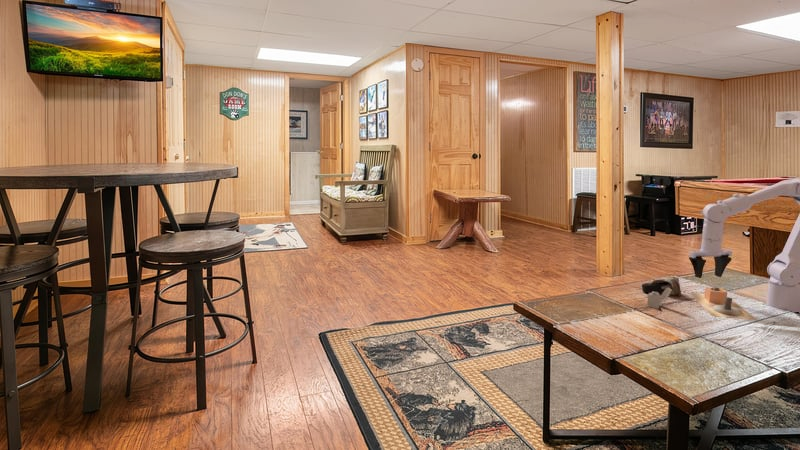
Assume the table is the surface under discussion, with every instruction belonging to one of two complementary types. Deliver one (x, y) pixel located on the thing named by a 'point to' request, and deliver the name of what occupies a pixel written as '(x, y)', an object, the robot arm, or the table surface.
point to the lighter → (657, 298)
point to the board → (723, 307)
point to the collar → (715, 295)
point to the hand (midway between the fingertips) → (708, 276)
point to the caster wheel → (663, 286)
